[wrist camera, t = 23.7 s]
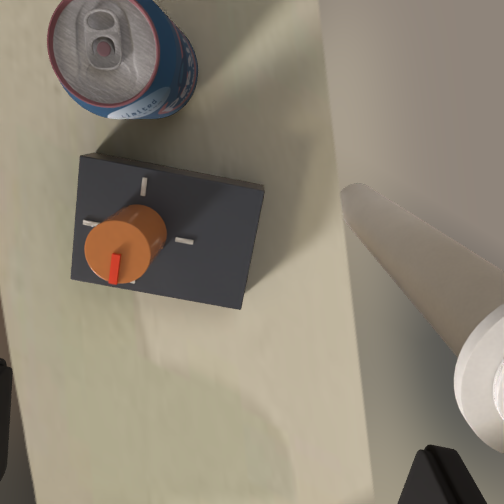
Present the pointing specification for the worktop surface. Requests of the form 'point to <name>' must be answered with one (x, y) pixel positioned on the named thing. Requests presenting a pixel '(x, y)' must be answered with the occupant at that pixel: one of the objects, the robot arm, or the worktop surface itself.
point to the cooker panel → (174, 226)
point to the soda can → (121, 58)
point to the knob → (125, 244)
